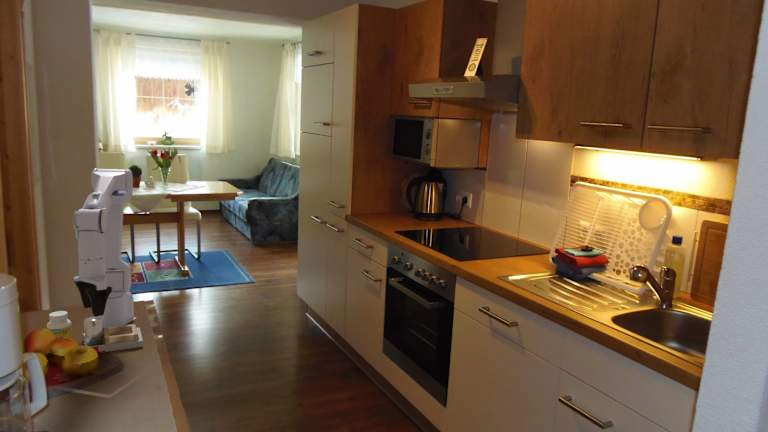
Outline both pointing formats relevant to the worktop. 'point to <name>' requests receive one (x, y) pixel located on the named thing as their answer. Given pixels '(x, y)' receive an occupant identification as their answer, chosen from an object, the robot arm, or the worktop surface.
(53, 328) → the supplement bottle
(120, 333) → the crate
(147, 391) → the worktop surface
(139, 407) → the worktop surface
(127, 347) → the bay
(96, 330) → the handle peg
